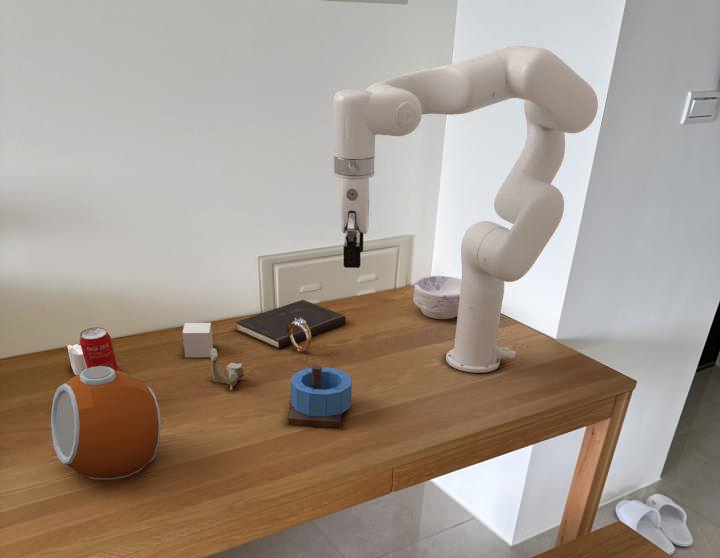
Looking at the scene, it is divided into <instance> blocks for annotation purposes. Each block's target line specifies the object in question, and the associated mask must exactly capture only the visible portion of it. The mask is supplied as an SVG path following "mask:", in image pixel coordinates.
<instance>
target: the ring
mask: <svg viewBox="0 0 720 558" xmlns="http://www.w3.org/2000/svg"><path fill="white" fill-rule="evenodd" d="M294 319H295V321H294V322H292V323H291V324H289V325H288V327H287V333H288V337H289V340H290V342H291V344H290V345H292V347H293V348H294V349H295V350H296V352H298V353H299V352H304V351H307V350H308V349H309V347H310V346H311V343H312V336H311V332H310V329H309V327H308V325H307V324H306V321H305V320H303V319H302V320H301V318H300V320H299V319H298V320H297V319H296V318H294ZM295 325H296V326H298V327H300V328H301V329H302V330H303V331H304V334H305V337H306V339H305V345H304V347H302V346H301V345H298V344H297V342H295V341H294V338H293V334H292V330H293V326H295Z"/></svg>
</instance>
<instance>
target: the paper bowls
mask: <svg viewBox="0 0 720 558" xmlns="http://www.w3.org/2000/svg"><path fill="white" fill-rule="evenodd" d="M461 281H462V278H457V277H454V276H447V275H429V276H424V277H421V278H418V279H417V280H416V281H415V283H414V287H413V288H414V289H413V298H412V299H413V303H414V305H415V306H416V307H418V309H419V308H420V311H421V312H422V314H423V315H425V317H428V318H431V319H434V320H452V319H455V318H457V317H458V308H459V299H460V291H461Z"/></svg>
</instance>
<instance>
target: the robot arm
mask: <svg viewBox="0 0 720 558" xmlns="http://www.w3.org/2000/svg"><path fill="white" fill-rule="evenodd" d="M511 99H519V100H523V109H524V115H525V121H526V140H525V144H524V146H523V148H522V151H521V152H520V154H519V156H518V157H517V160H516V161H515V162H514V165H513V166H512V168H511V169H510V171H509V173H508V174H507V176H506V177H505V179H504V181H503V183H502V184H501V186H500V188H499V189H498V191H497V193H496V195H495V198H494V202H493V208H494V211H495V213H496V214H497V216H498V217H499V218H501V219H502V220H504V221H506V222H508V223H510V224H512V226H511V228H510V229H509V228H507V227H505V226H503V225H501V224H498V223H497V222H493V221H489V220H482V221H481V220H480V221H478V222H475V223H473V224H471V226H469V227H468V228H467V230H466V231H465V233H464V234H463V237H462V239H461V245H460V259H461V280H462V281H461V291H460V299H459V308H458V316H457V317H456V326H455V333H454V334H455V335H454V345H453V348H452V349H450V350H449V351H447V352H446V355H445V361H446V363H447V364H448V365H449V366H450V367H451V368H454V369H456V370H458V371H462V372H465V373H466V372H467V373H473V374H474V373H475V374H480V373H481V374H483V373H489V372H492V371H495V370H496V369H498V368H499V367H500V366H501V359H506V360H516V350H510V347H508V346H504V347H503V346H500V345H498V342H497V341H498V333H499V327H500V320H501V313H502V307H503V301H504V295H505V282H507V283H512V282H513V283H514V282H517V281H519V280H520V279H522V278H523V277H524V276H525V275H526V274H527V273H528V272H529V271H530V270H531V269H532V267H533V266H534V264H535V263H536V261H537V260H538V258H539V257H540V255H541V254H542V252H543V251H544V249H545V247H546V246H547V244H548V243H549V242H550V240H551V238H552V237H553V235H554V234H555V232H556V230H557V229H558V227H559V225H560V223H561V221H562V219H563V215H564V211H565V198H564V196H563V194H562V192H561V191H560V189H559V188H557V186H555V185H553V184H552V183H553V181H554V179H555V178H556V175H557V174H558V172H559V170H560V168H561V167H562V164H563V161H564V158H565V153H566V136H565V135H566V134H579V133H581V132H584V131H585V130H586V129H588V128H589V127H591V125H592V123H593V122H594V121H595V119H596V116H597V113H598V109H599V101H598V95H597V94H596V91H595V90H594V88H593V87H592V86H591V84H589V83H588V81H586V80H585V79H584V78H583V77H581V76H580V75H579V74H578V73H577V72H576V71H575V70H574V69H573V68H572V67H571V66H569V65H568V64H567V63H566V62H565V61H564V60H562V59H561V58H560V56H559V57H558V56H557V55H556V54H555V53H553V52H552V51H551V50H548V49H546V48H543V47H534V46H527V45H511V46H506V47H503V48H500V49H497V50H494V51H490V52H488V53H485V54H482V55H479V56H475V57H471V58H468V59H466V60H462V61H458V62H454V63H450V64H445V65H444V64H443V65H440V66H436V67H432V68H426V69H422V70H416V71H411V72H408V73H404V74H403V73H402V74H400V75H397V76H393V77H389V78H387V79H384V80H381V81H378V82H374V83H373V84H371V85H370V86H368V87H367V88H366V89H353V88H351V89H342V90H339V91H336V93H335V94H334V95H333V99H332V111H333V112H332V124H333V125H332V130H333V131H332V132H333V133H332V134H333V135H332V136H333V138H332V139H333V176H334V177H336V178H339V198H340V199H339V203H340V207H339V208H340V224H341V225H340V226H341V232H342V233H343V234H344V244H343V268H349V269H359V268H361V255H362V254H361V253H363V252H364V235H366V234H367V233H368V231H369V225H370V178H372V177H375V161H376V160H375V157H376V156H375V155H376V136H377V135H379V136H389V137H404V136H408V135H409V134H411V133H413V132H414V131H416V129H417V128H418V126H419V125H420V123H421V121H422V116H423V115H448V116H449V115H451V116H453V115H465V114H468V113H471V112H474V111H477V110H480V109H483V108H485V107H490V106H492V105H495V104H498V103H501V102H505V101H507V100H511Z"/></svg>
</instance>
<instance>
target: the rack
mask: <svg viewBox="0 0 720 558" xmlns="http://www.w3.org/2000/svg"><path fill="white" fill-rule="evenodd" d="M322 367H323V366H322V365H321V364H313V365H311V368H312V388H313V389H322ZM342 415H343V413H342V414H338V415H333V416H328V417H320V416H309V415H306V414H304V413H301V412H298V411H297V410H296V409H295V408H294V407H293V406H292V405H291V408H290V413H289V415H288V418H287V419H288V425H289V426H301V427H314V428H315V427H318V428H331V429H332V428H333V429H339V428H340V427H341V420H342Z"/></svg>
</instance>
